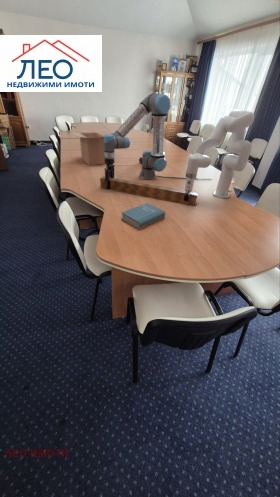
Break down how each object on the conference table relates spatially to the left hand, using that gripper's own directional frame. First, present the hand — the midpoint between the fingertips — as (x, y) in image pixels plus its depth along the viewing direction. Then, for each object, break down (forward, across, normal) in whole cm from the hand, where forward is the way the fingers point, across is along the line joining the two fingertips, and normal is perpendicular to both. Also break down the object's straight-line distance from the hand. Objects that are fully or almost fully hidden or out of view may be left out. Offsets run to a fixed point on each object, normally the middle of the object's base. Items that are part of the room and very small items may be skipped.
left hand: (110, 187), depth 178 cm
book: (+1, -38, -40) cm, 55 cm away
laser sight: (0, +82, -9) cm, 82 cm away
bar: (+1, 0, -31) cm, 31 cm away
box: (0, +62, +48) cm, 78 cm away
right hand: (-2, 0, -62) cm, 62 cm away
